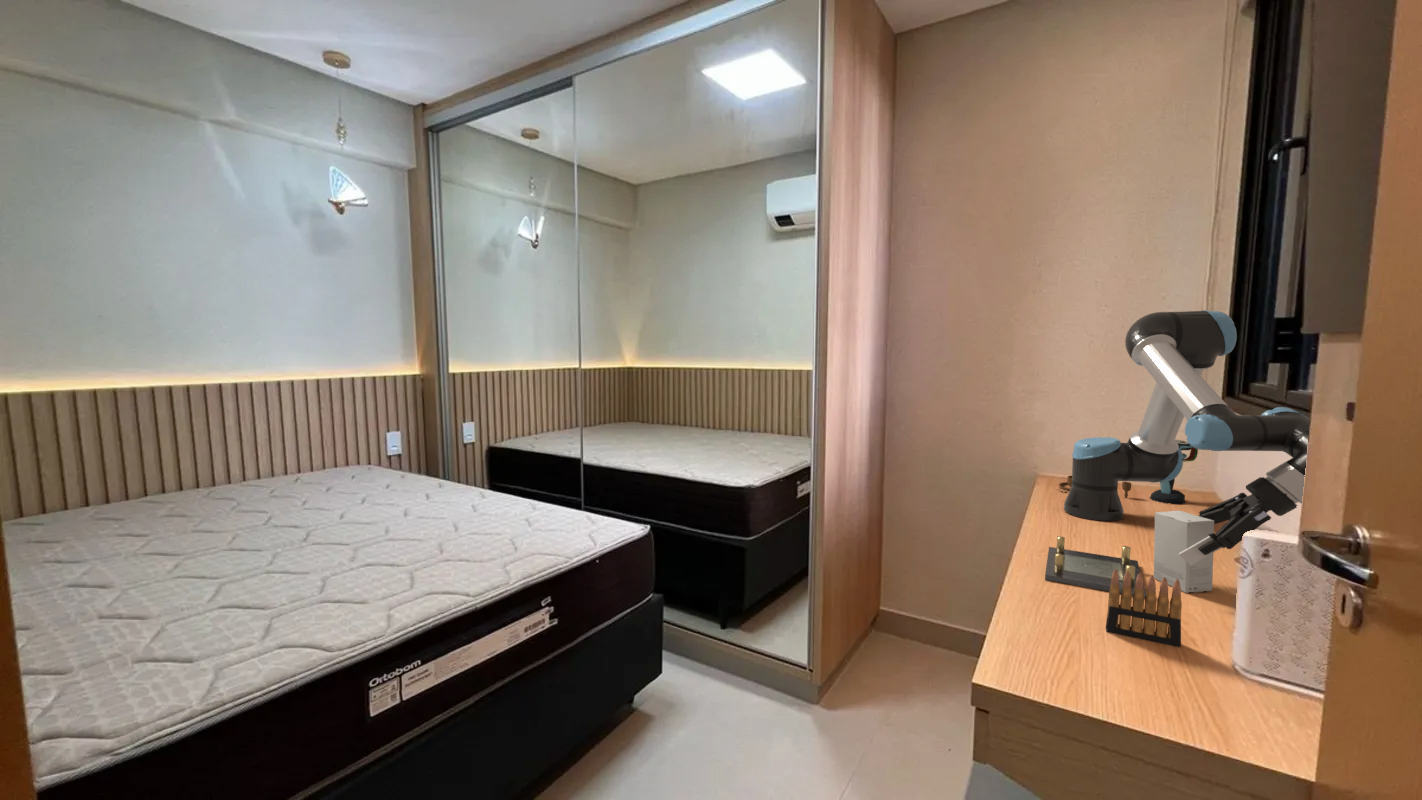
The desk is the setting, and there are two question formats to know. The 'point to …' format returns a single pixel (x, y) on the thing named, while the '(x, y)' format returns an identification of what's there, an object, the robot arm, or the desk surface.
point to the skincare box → (1175, 537)
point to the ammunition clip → (1145, 611)
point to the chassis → (1089, 568)
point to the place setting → (1125, 486)
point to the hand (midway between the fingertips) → (1179, 548)
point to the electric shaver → (1167, 487)
